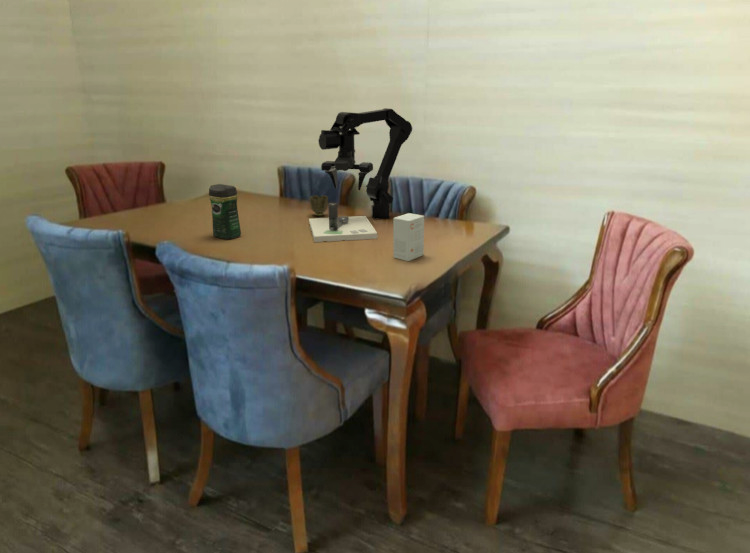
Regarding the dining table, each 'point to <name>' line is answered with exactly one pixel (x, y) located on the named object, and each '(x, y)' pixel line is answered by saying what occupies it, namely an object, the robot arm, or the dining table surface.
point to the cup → (318, 204)
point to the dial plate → (342, 229)
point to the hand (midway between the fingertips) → (347, 189)
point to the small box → (408, 236)
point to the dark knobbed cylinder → (335, 217)
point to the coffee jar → (224, 211)
